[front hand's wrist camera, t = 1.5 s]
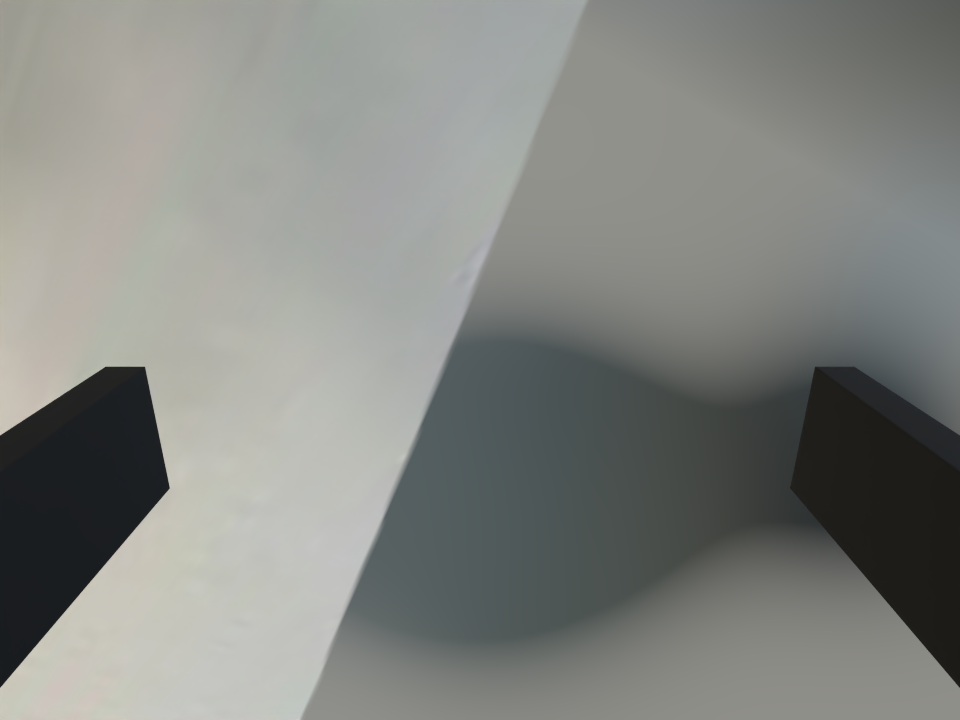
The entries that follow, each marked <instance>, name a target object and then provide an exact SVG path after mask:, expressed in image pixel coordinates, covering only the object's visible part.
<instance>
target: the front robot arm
mask: <svg viewBox="0 0 960 720" xmlns="http://www.w3.org/2000/svg"><path fill="white" fill-rule="evenodd" d="M169 488H170V487H169V482H168V477H167V473H166V468H165V463H164V458H163V453H162V448H161V443H160V438H159V434H158V429H157V424H156V419H155V414H154V409H153V404H152V399H151V394H150V390H149V385H148V380H147V375H146V370H145V367H105V368H103V369H102V370H100V371H99V372H97V373H95V374H94V375H92V376H91V377H89V378H88V379H86V380H85V381H83V382H82V383H80V384H79V385H77V386H76V387H74V388H72V389H71V390H69V391H68V392H66V393H65V394H63V395H62V396H60V397H59V398H57V399H56V400H54V401H53V402H51V403H49V404H48V405H46V406H45V407H43V408H42V409H40V410H39V411H37V412H36V413H34V414H33V415H31V416H29V417H28V418H26V419H25V420H23V421H22V422H20V423H19V424H17V425H16V426H14V427H13V428H11V429H10V430H8V431H6V432H5V433H3V434H2V435H0V687H1V686H2V685H3V684H4V683H5V681H6V680H7V679H8V678H9V677H10V676H11V674H12V673H13V672H14V671H15V670H16V668H17V667H18V666H19V665H20V664H21V663H22V661H23V660H24V659H25V658H26V657H27V656H28V654H29V653H30V652H31V651H32V650H33V648H34V647H35V646H36V645H37V644H38V643H39V641H40V640H41V639H42V638H43V637H44V636H45V634H46V633H47V632H48V631H49V630H50V628H51V627H52V626H53V625H54V624H55V623H56V621H57V620H58V619H59V618H60V617H61V616H62V614H63V613H64V612H65V611H66V610H67V608H68V607H69V606H70V605H71V604H72V603H73V601H74V600H75V599H76V598H77V597H78V596H79V594H80V593H81V592H82V591H83V590H84V588H85V587H86V586H87V585H88V584H89V583H90V581H91V580H92V579H93V578H94V577H95V576H96V574H97V573H98V572H99V571H100V570H101V568H102V567H103V566H104V565H105V564H106V563H107V561H108V560H109V559H110V558H111V557H112V556H113V554H114V553H115V552H116V551H117V550H118V548H119V547H120V546H121V545H122V544H123V543H124V541H125V540H126V539H127V538H128V537H129V536H130V534H131V533H132V532H133V531H134V530H135V528H136V527H137V526H138V525H139V524H140V523H141V521H142V520H143V519H144V518H145V517H146V516H147V514H148V513H149V512H150V511H151V510H152V508H153V507H154V506H155V505H156V504H157V503H158V501H159V500H160V499H161V498H162V497H163V495H164V494H165V493H166V492H167V491H168V490H169ZM790 488H791V490H792V491H793V492H794V493H795V494H796V495H797V497H798V498H799V499H800V500H801V501H802V503H803V504H804V505H805V506H806V507H807V508H808V510H809V511H810V512H811V513H812V514H813V515H814V517H815V518H816V519H817V520H818V521H819V523H820V524H821V525H822V526H823V527H824V528H825V530H826V531H827V532H828V533H829V534H830V535H831V537H832V538H833V539H834V540H835V541H836V542H837V544H838V545H839V546H840V547H841V548H842V550H843V551H844V552H845V553H846V554H847V556H848V557H849V558H850V559H851V560H852V561H853V563H854V564H855V565H856V566H857V567H858V568H859V570H860V571H861V572H862V573H863V574H864V575H865V577H866V578H867V579H868V580H869V581H870V583H871V584H872V585H873V586H874V587H875V588H876V590H877V591H878V592H879V593H880V594H881V595H882V597H883V598H884V599H885V600H886V601H887V603H888V604H889V605H890V606H891V607H892V608H893V610H894V611H895V612H896V613H897V614H898V616H899V617H900V618H901V619H902V620H903V621H904V623H905V624H906V625H907V626H908V627H909V628H910V630H911V631H912V632H913V633H914V634H915V635H916V637H917V638H918V639H919V640H920V641H921V643H922V644H923V645H924V646H925V647H926V648H927V650H928V651H929V652H930V653H931V654H932V655H933V657H934V658H935V659H936V660H937V661H938V663H939V664H940V665H941V666H942V667H943V668H944V670H945V671H946V672H947V673H948V674H949V676H950V677H951V678H952V679H953V680H954V681H955V683H956V684H957V685H958V686H959V687H960V435H958V434H957V433H955V432H954V431H952V430H950V429H949V428H947V427H946V426H944V425H943V424H941V423H940V422H938V421H937V420H935V419H934V418H932V417H931V416H929V415H927V414H926V413H924V412H923V411H921V410H920V409H918V408H917V407H915V406H914V405H912V404H911V403H909V402H907V401H906V400H904V399H903V398H901V397H900V396H898V395H897V394H895V393H894V392H892V391H891V390H889V389H887V388H886V387H884V386H883V385H881V384H880V383H878V382H877V381H875V380H874V379H872V378H871V377H869V376H868V375H866V374H864V373H863V372H861V371H860V370H858V369H857V368H855V367H815V371H814V375H813V380H812V385H811V390H810V394H809V399H808V404H807V409H806V414H805V419H804V424H803V429H802V434H801V438H800V443H799V448H798V453H797V458H796V463H795V468H794V473H793V477H792V482H791V487H790Z"/></svg>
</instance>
